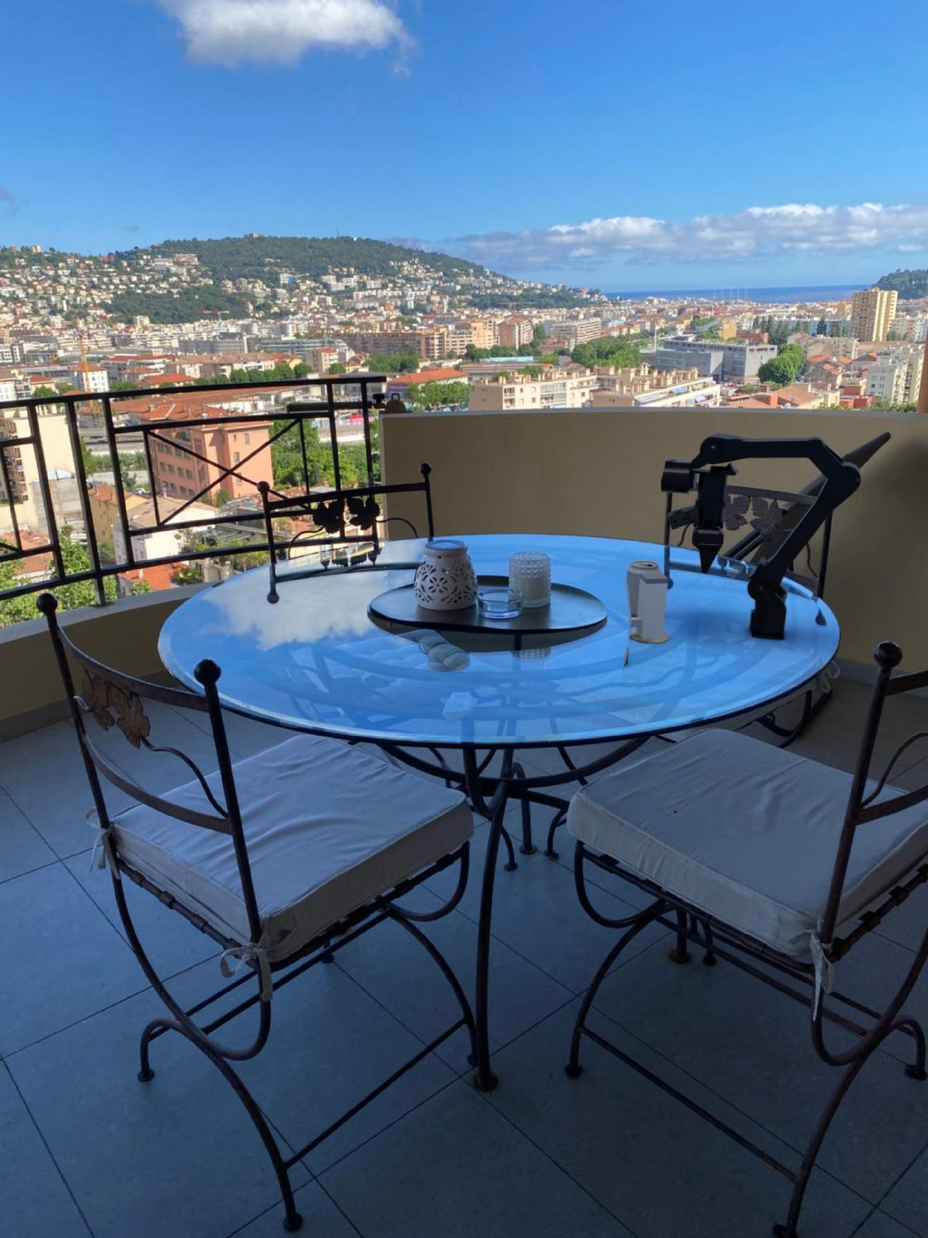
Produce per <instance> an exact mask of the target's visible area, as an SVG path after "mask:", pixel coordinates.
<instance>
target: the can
mask: <svg viewBox="0 0 928 1238" xmlns="http://www.w3.org/2000/svg"><path fill="white" fill-rule="evenodd" d="M659 566H660V564H659V563H658V562H656V561H653V560H646V559H640V560H637V559H636V560H632V561H631V562H630V566H628V568H627V571H626V585H627V590H628V600H629V610H630V616H631V617H637V613H638V598H639V583H640V573H662V569H661V568H660V567H659Z"/></svg>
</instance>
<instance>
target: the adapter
mask: <svg viewBox="0 0 928 1238" xmlns="http://www.w3.org/2000/svg"><path fill="white" fill-rule="evenodd" d="M668 583H669V578H668V577H667V576H666V575H665V574H663V572H661V573H640V583H639V598H638V613H637V617H636V616H632V617H630V628H636V629H635V630H636V632H637V634H638V635H639V636H640V637H641V638H642V639H663V637H664V632H665V624H666V622H665V621H666V608H667V597H668Z"/></svg>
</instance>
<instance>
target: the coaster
mask: <svg viewBox="0 0 928 1238" xmlns="http://www.w3.org/2000/svg"><path fill="white" fill-rule="evenodd" d="M629 638H630V639H632V640H633V639H634V640H633V641H635V640H636V642H638V641H639V643H643V644H649V643H657V644H663V643H665V641H666V642H668V641H669V640H668V639H670V636H669V634H668V633H667V632H665V631H664V637H663V639H642V638H641V637H640V636H639V635H638V634H637V632H636V629H635V630H632V631H630V632H629ZM662 642H663V643H662Z"/></svg>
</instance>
